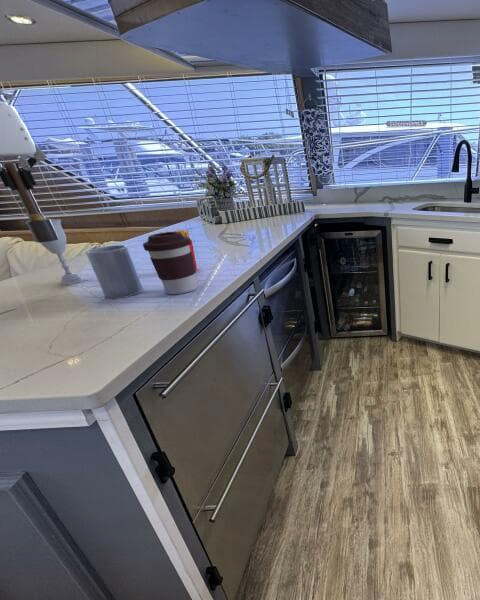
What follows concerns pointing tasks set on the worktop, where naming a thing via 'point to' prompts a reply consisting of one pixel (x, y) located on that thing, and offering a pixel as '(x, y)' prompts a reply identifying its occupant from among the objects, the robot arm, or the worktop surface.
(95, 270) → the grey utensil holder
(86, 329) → the worktop surface
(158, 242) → the coffee cup
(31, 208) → the brush
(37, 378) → the worktop surface
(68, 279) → the chalice
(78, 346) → the worktop surface
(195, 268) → the french fries
